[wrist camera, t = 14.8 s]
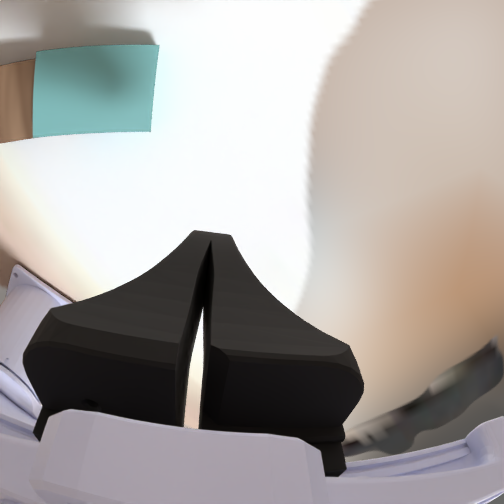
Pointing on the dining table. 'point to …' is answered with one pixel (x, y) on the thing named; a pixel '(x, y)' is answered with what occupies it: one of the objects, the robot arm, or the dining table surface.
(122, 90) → the domino
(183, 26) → the dining table surface
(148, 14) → the dining table surface
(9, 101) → the domino
